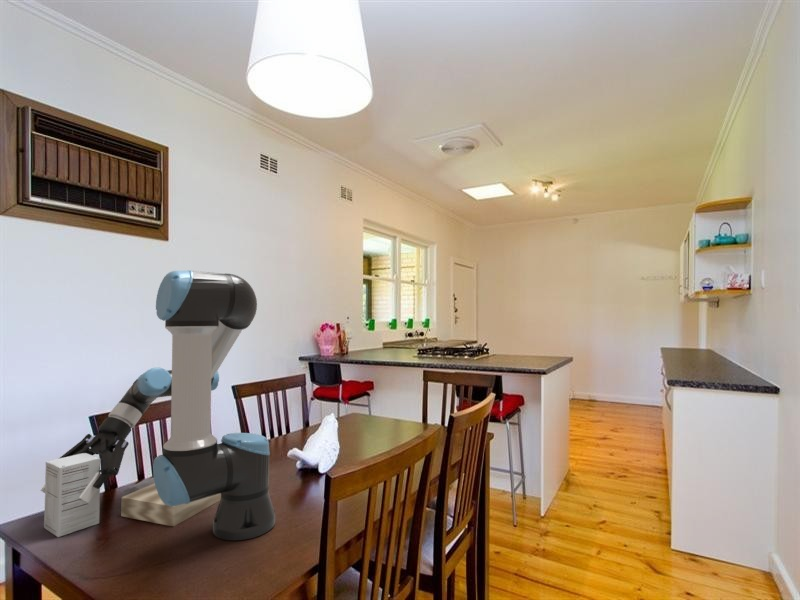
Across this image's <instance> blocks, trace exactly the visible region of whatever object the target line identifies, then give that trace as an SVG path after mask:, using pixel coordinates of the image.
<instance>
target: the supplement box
mask: <svg viewBox="0 0 800 600" xmlns="http://www.w3.org/2000/svg"><path fill="white" fill-rule="evenodd" d="M59 458H60V457H59ZM59 458H56V459H55V458H54V459H52V460H47V461H45V473H44V474H45V478H44V479H45V480H44V481H45V484H44V485H45V493H44V514H43V515H44V517H43V518H44V519H43V520H44V521H43V528H44V529H45V530H47V531H48V532H49V533H51V534H53V535H54V536H56V538H60V537H63V536H67V535H68V534H71V533H76V532H78V531H81V530H83V529H87V528H90V527H92V526H93V527H94V526H96V525H98V524H100V504H101V501H100V500H101V499H100V498H101V487H100V488H99V489H98V490H97V491H96V493H95V494H94V495H93V497H92V498H91V500H90V501H89V502H88V503H87V502H85V501H83V500H82V499H80V498H79V496H80V495H81V494H82V492H83V491H84V490H85V488H86V487H87V486H88V484H89V483H90V481H91V480H92V479H93V477H94V476H95V475H96V473H97V472H98V473H100V474H101V472H99V471H100V470H101V461H102V458H100V457H97V456H94V455H90V454H87V453H82V454H77V455H73V456H69V457H64V458H60V459H59Z"/></svg>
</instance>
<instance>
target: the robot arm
mask: <svg viewBox="0 0 800 600" xmlns="http://www.w3.org/2000/svg"><path fill="white" fill-rule="evenodd" d="M257 307H258V299H257V296H256V292H255V291H254V289H253V287H252V285H250V283H249V282H248V281H246V280H245V279H244V278H242V277H241V276H239V275H236V274H232V273H219V272H209V271H208V272H207V271H199V270H198V271H197V270H172V271H170V272H168V273H166V274H165V275H164V276H163V278H162V280H161V282H160V284H159V287H158V290H157V294H156V299H155V310H156V312H155V313H156V316H157V318H158V319H160V321H162V322H163V321H164V322H165V323H164V326H165V329H166V331H168V332H170V334H171V337H172V338H171V340H172V341H171V345H172V346H171V347H172V348H171V351H172V352H171V369H169V370H168V369H165V368H162V367H152V368H150V369H148V370H146V371H145V372H143V373H142V374H141V375H139V376H138V377H137V378H136V379H135V381H133V383H132V384H131V385H130V387H129V388H128V390H127V391H126V393H125V394H124V395H123V396H122V398H121V399H120V400H119V401H118V402H117V404H116V405H115V406H114V407H113V408H112V410H111V411H110V412H109V413H108V417H106V418H105V419H104V420H103V421H102V423H101V424H100V425H99V426H98V433H97V434H96V435H95V436H94V435H92V434H90V433H88V434H86V435H85V436H84V437H83V438H82V439H81V440H80V441H79V442H78V443H76V444H75V445H74V446H73V447H71V448H70V449H69V450H67V451H66V452H65V453H64V454H62V456H60V457H58V459H60V458H64V457H69V456H73V455H77V454H82V453H87V454H90V455H92V456H94V455H101V460H100V471H99V472H100V473H98V472H97V473H96V475H95V476H94V477H93V479H92V480H91V481H90V483H89V484H88V486H87V487H86V488H85V490H84V491H83V492H82V494H81V495H80V496H79V498H80V499H82V500H83V501H85V502H87V503H88V502H89V501H90V500H91V498H92V497H93V495H94V494H95V493H96V491H97V490H98V489H99V488H100V489H101V487H102V486H103V485H104V483H105V482H106V481H107V479H108V478H110V477H112V476H114V477H116V476H117V475H118V474H119V472H120V468H121V465H122V461H123V458H124V455H125V450H126V449H127V448H128V446H129V442H128V441H127V440H126V439H127V437H128V436H129V435H130V434H131V432H132V429H133V428H134V427H135V426H136V425H137V423H139V421H140V420H141V418H142V417H143V415H144V414H145V412H146V411H147V410H148V409H149V407H150V405H151V404H152V403H153V402H154V401H155V400H157V399H158V398H165V397H171V398H170V399H171V401H170V403H171V404H170V407H171V409H170V437H169V439H168V440H167V441H165V443H164V444H163V447H162V454H159V455H158V456H156V457H155V458H154V459H153V463H152V464H153V465H152V474H153V477H154V482H155V486H156V489H157V492H158V494H159V497H160V498H161V500H162V501H163V503H164V504H166V505H167V506H177V505H181V504H189V503H190V502H193V501H196V500H200V499H203V498H207V497H210V496H213V495H217V494H220V493H221V500H220V501H219V503H218V506H217V508H216V512H215V514H214V518H213V521H212V534H213V535H214V536H215V537H217V538H218V539H221V540H226V541H244V540H245V541H246V540H249V539H253V538H257V537H259V536H262V535H264V534H266V533H268V532H269V531H271V529H273V527H275V524H276V512H275V509H274V506H273V503H272V500H271V495H270V491H269V489H270V487H269V486H270V484H269V483H270V481H269V479H270V455H271V453H270V442H269V441H270V440H269V439H268V437H266V436H264V435H261V434H257V433H253V432H251V433H249V432H233V433H232V432H231V433H226V434H224V435H223V436H222V437H221V440H220V442H221V443H218V439H217V438H216V436H214V435H213V434H212V432H211V431H212V429H211V426H212V420H211V419H212V391H214V390H216V389H217V388H218V386H219V382H220V375H219V371H218V370H219V369H220V367H221V366H222V363H224V361H225V358H226V357H227V356H228V354H229V352H230V350H232V347H233V346H234V344H235V343H236V341H237V339H238V338H239V336H240V334H241V333H242V331H243V330H246V329H248V328H249V327H250V325H251V324H252V322H253V321H254V319H255V317H256V314H257V309H258V308H257ZM40 492H42V493H44V494H45V484H44V485H43V487H41V489H40Z"/></svg>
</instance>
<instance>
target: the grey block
mask: <svg viewBox="0 0 800 600" xmlns="http://www.w3.org/2000/svg"><path fill="white" fill-rule="evenodd" d="M154 483H155V482H154V476H153V477H149V478H146V479H144V480H142V481H139V482H137V483H136V484H135V485H133V486H130V487H126V488H125V489H123V493H122V497H123V496H126V495H128V494H131V493H133V492H135V491H138V490H140V489H142V488H145V487H147V486H149V485H152V484H154Z"/></svg>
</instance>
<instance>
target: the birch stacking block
mask: <svg viewBox="0 0 800 600" xmlns="http://www.w3.org/2000/svg"><path fill="white" fill-rule="evenodd" d="M220 500H221V493H220V494H217V495H213V496H210V497H207V498H203V499H200V500H196V501H193V502H190V503H189V504H181V505H177V506H167V505H166V504H164V503H163V501H162V500H161V498H160V497H159V494H158V492H157V489H156V486H155V483H154V484H152V485H149V486H147V487H145V488H142V489H140V490H138V491H135V492H133V493H131V494H128V495H126V496H123V495H122V496H121V501H120V503H121V505H120V516H121V517H124V518H127V519H128V518H129V519H134V520H138V521H143V522H144V521H145V522H148V523H149V522H150V523H154V524H157V525H158V524H160V525H164V526H169V527H176V526H178V525H179V524H182V522H184V521H186V520H188V519H190V518H192V517H193V516H196V515H197V514H198V513H201V512H202V511H204V510H206V509H207V508H209V507H211V506H212V505H215V504H217V503H218V502H220Z"/></svg>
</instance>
